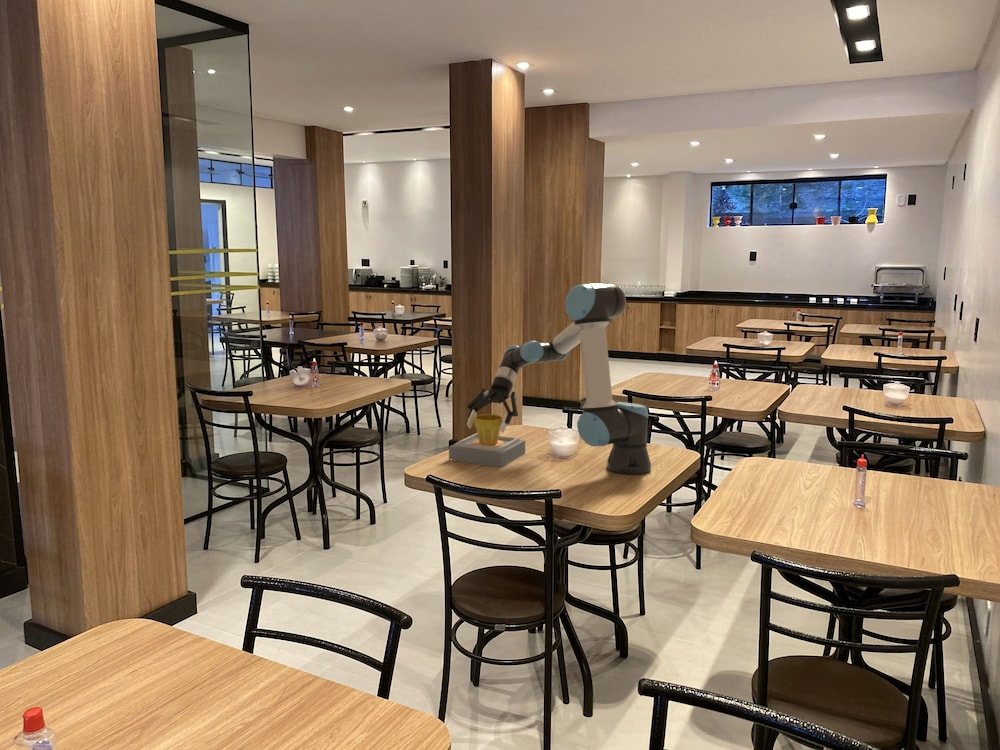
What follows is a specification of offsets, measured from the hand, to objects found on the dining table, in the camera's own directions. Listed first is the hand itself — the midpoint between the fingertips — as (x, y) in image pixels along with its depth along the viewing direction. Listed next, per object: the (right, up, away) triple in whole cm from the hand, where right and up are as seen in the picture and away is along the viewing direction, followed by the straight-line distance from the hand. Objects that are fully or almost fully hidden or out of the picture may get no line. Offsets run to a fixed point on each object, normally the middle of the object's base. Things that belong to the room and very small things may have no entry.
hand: (484, 428), depth 264 cm
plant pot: (+1, -6, +3) cm, 7 cm away
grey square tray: (+1, -11, +4) cm, 11 cm away
